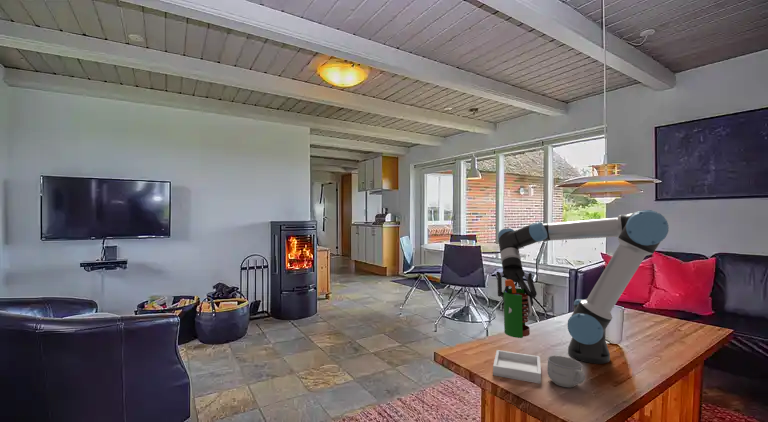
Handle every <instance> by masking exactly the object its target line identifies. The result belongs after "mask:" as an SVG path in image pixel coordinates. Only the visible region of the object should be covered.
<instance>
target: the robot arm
mask: <svg viewBox="0 0 768 422" xmlns="http://www.w3.org/2000/svg"><path fill="white" fill-rule="evenodd" d="M497 233H498V234H497V242H498V247H499V251H500V252H499V253H500V261H501V266H502V267H501V268H502V271H501V272H499V271H496V274H495V278H496V280H497V296H498V297H500V298H502V299H503V305H504V304H505V301H504V292H503V286H502V285H503V283H502V280H503V279H502V278H503V277H504V279H505V280H508V279H511V280H513V282H514V283H517V284H518V286H520V289H524V292H525V294H526V295H528V298H527V300H528V303H526V304H527V305H528V308H527V309H528V312H527V313H528V316H532V314H533V306H534V300H533V299H535V298H536V297H537V295H538V293H537V290H536V286H535V284H534V282H533V281H534V280H533V277H532V276H533V274H532V272H529V273H527V272H525V271H524V270H523V264H522V260H521V254H520V249H521V248H525V247H528V246H531V245H532V244H535V243H540V242H547V241H564V240H565V241H566V240H567V241H568V240H582V239H583V240H586V239H599V238H600V239H601V238H603V239H604V238H617V240H618V242H619V245H618V246H617V248H616V250H615V251H614V253H613V254H612V256H611V258H610V260H609V261H608V263H607V264H606V266H605V268H604V269H603V272H602V273H601V274H600V277H599V278H598V280H597V281H596V283H595V284H594V286H593V288H592V289H591V291H590V293H589V294H588V296H587V298H585V299H582V298H579V299H578V298H577V299H576V298H575V300H574V301H573V313H572V314H571V316H570V317H569V318H568V320H567V330H568V333H569V334H570V336H571V337H572V338H571V339H570V342H569V344H568V348H567V353H568V355H569V356H571V358H572V359H574V360H577V361H581V362H585V363H588V364H589V363H590V364H598V365H599V364H601V365H602V364H607V363H609V362H610V361H611V354H610V350H609V348H608V345H607V344H608V343H607V342H606V331H607V330H606V329H607V327H608V326H609V325H610V322H611V321H612V319H613V316H612V313H611V312H612V310H613V308H614V307H615V305H616V304H617V302H618V301H619V299H620V298H621V296H622V295H623V293H624V292H625V289H626V287H627V286H628V285H629V283H630V281H631V280H632V278H633V277H634V275H635V274H636V272H637V271H638V269H639V268H640V266H641V264H642V262H643V261H644V259H645V257H646V256H650V255H654V252H656V250H657V249H658V247H659V245H660V243H661V242H662V241H663V240H665V239H666V237H667V235H668V233H669V223H668V220H667V219H666V218H665V216H664V215H662V214H661V213H660V212H657V211H655V210H652V209H643V210H638V211H635V212H631V213H625V214H619V215H618V216H616V217H609V218H606V217H605V218H596V219H585V220H583V219H581V220H574V221H573V220H572V221H571V220H570V221H559V222H549V223H542V222H541V221H536V222H533V223H530V224H529V225H526V226H524V227H521V228H518V229H517V230H514V229H513V228H511V227H510V228H509V227H508V228H502V229H500V230H499V231H498V232H497ZM524 278H525V280H527V284H526V282H525V280H524ZM527 285H528V286H527ZM504 286H505V285H504ZM508 289H510V286H505V287H504V290H505V291H506V292H507V293H508ZM510 312H512V309H511V308H510V307H509V313H510Z"/></svg>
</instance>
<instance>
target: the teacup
mask: <svg viewBox="0 0 768 422" xmlns="http://www.w3.org/2000/svg"><path fill="white" fill-rule="evenodd" d="M582 367H583V364H582V363H581V362H580V361H579V360H577V359H575V358H572V357H567V356H562V355H550V356H548V357H547V368H546V369H547V375H548V378H549V379H550V380H551V381H552V382H553V383H554V384H555V385H557V386H559V387H562V388H574V387H576V386H578V385H580V384H582V383H584V382H585V380H586V375H585V372H583V371H582Z"/></svg>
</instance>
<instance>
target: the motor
mask: <svg viewBox="0 0 768 422" xmlns="http://www.w3.org/2000/svg"><path fill="white" fill-rule="evenodd" d="M504 286H509V287H511V288H509V289H508V293H507V292H506V291H505V289H504V290H502V292H504V300H503V302H504V301H505V304H504V303H503V321H504V322H503V324H504V328H503V329H504V330H503V331H504V334H505V335H506V336H508V337H511V338H517V339H523V338H525V337H528V336H530V333H531V332H530V330H531V329H530V326H528V325H527V324H526V323H528V322H529V314H528V309H527V308H528V305H527V304H526V303H528V300H527V298H528V295H526V294H525V292H524V289H522V288H516V285H515V282H513V280H511V279H508V280H507V279H505V281H504ZM509 307H510V308H511V309H512V312H510V313H509Z"/></svg>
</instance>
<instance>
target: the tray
mask: <svg viewBox="0 0 768 422" xmlns="http://www.w3.org/2000/svg"><path fill="white" fill-rule="evenodd" d="M541 369H542V368H541V356H539V355H534V354H527V353H522V352H521V353H520V352H519V353H518V352H513V351H509V350H499V349H496V352H495V356H494V361H493V365H492V376H495V377H500V378H507V379H512V380H518V381H523V382H529V383H535V384H542V382H541V381H542V371H541Z"/></svg>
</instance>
